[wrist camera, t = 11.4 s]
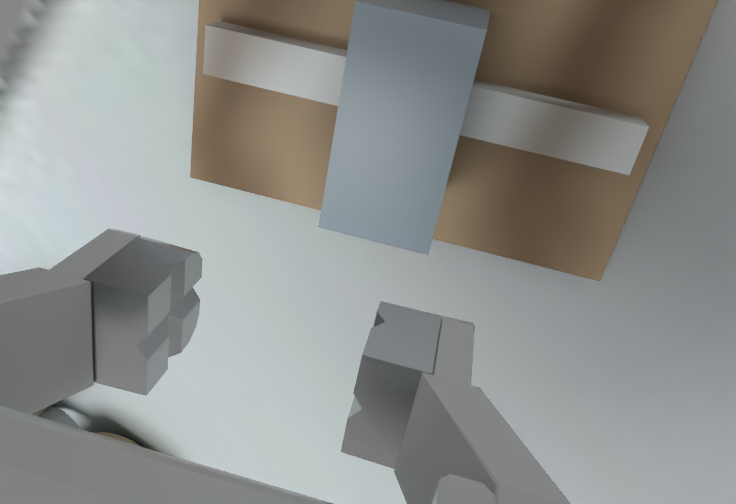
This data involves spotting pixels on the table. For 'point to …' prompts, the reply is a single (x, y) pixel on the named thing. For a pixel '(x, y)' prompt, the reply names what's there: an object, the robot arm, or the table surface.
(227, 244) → the table surface
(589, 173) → the striped wooden board
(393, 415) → the robot arm
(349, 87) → the block
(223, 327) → the table surface
